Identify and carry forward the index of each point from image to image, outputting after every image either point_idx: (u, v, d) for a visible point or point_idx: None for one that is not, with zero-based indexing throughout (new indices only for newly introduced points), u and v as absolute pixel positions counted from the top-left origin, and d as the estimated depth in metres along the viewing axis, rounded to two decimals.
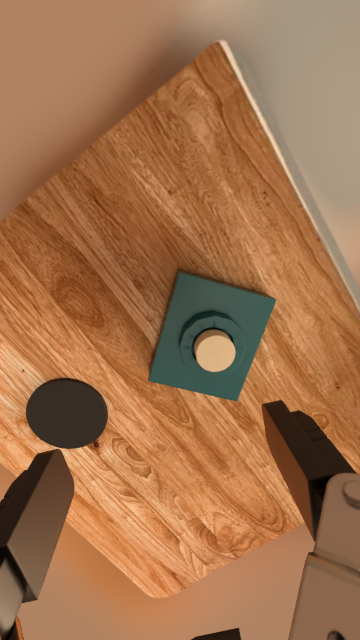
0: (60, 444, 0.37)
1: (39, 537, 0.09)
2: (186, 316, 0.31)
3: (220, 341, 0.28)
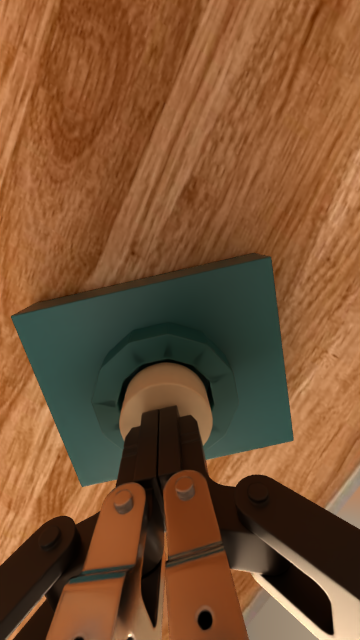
0: None
1: None
2: (190, 317, 0.14)
3: (198, 418, 0.12)
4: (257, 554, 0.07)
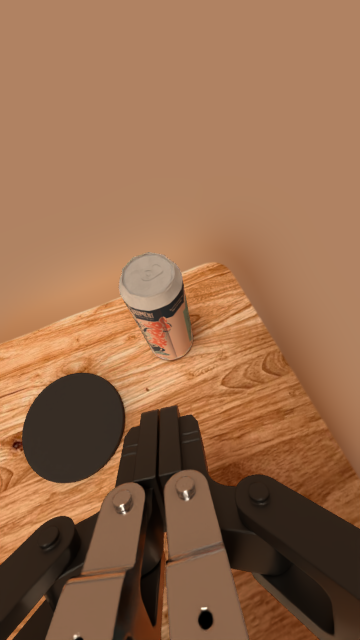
0: (40, 399, 0.29)
1: None
2: None
3: None
4: (258, 554, 0.07)
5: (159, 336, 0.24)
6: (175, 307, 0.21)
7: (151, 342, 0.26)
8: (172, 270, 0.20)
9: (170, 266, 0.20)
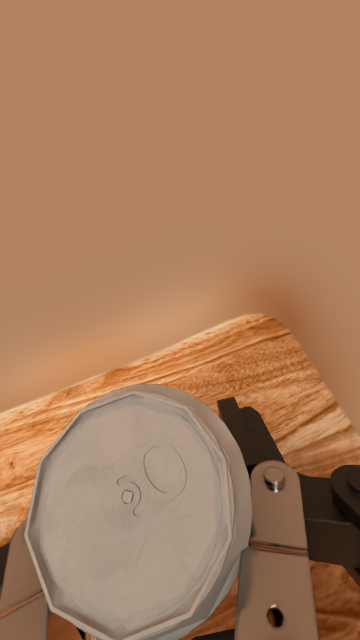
0: None
1: None
2: None
3: None
4: None
5: None
6: None
7: None
8: (220, 479, 0.05)
9: (212, 458, 0.06)
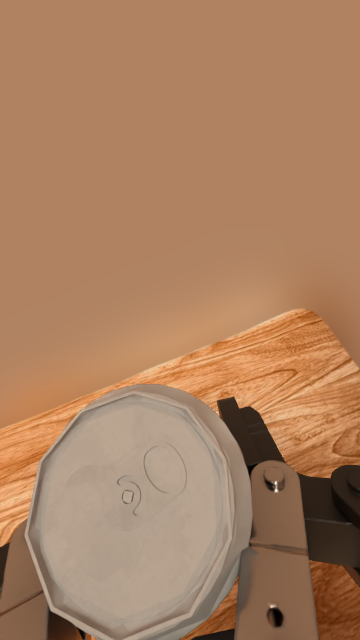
0: None
1: None
2: None
3: None
4: None
5: None
6: None
7: None
8: (221, 479, 0.05)
9: (212, 458, 0.06)
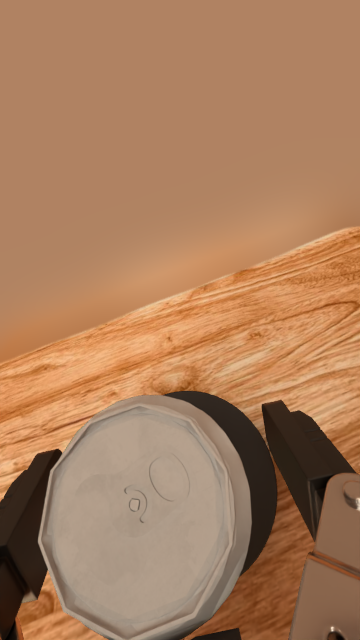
0: None
1: None
2: None
3: None
4: None
5: None
6: None
7: None
8: (222, 488, 0.06)
9: (214, 468, 0.06)
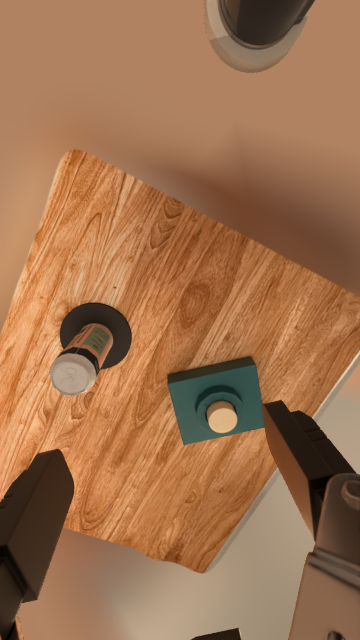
0: (65, 344, 0.41)
1: (38, 537, 0.09)
2: (228, 383, 0.41)
3: (233, 418, 0.39)
4: None
5: None
6: (97, 367, 0.32)
7: None
8: (80, 365, 0.29)
9: (76, 364, 0.29)
